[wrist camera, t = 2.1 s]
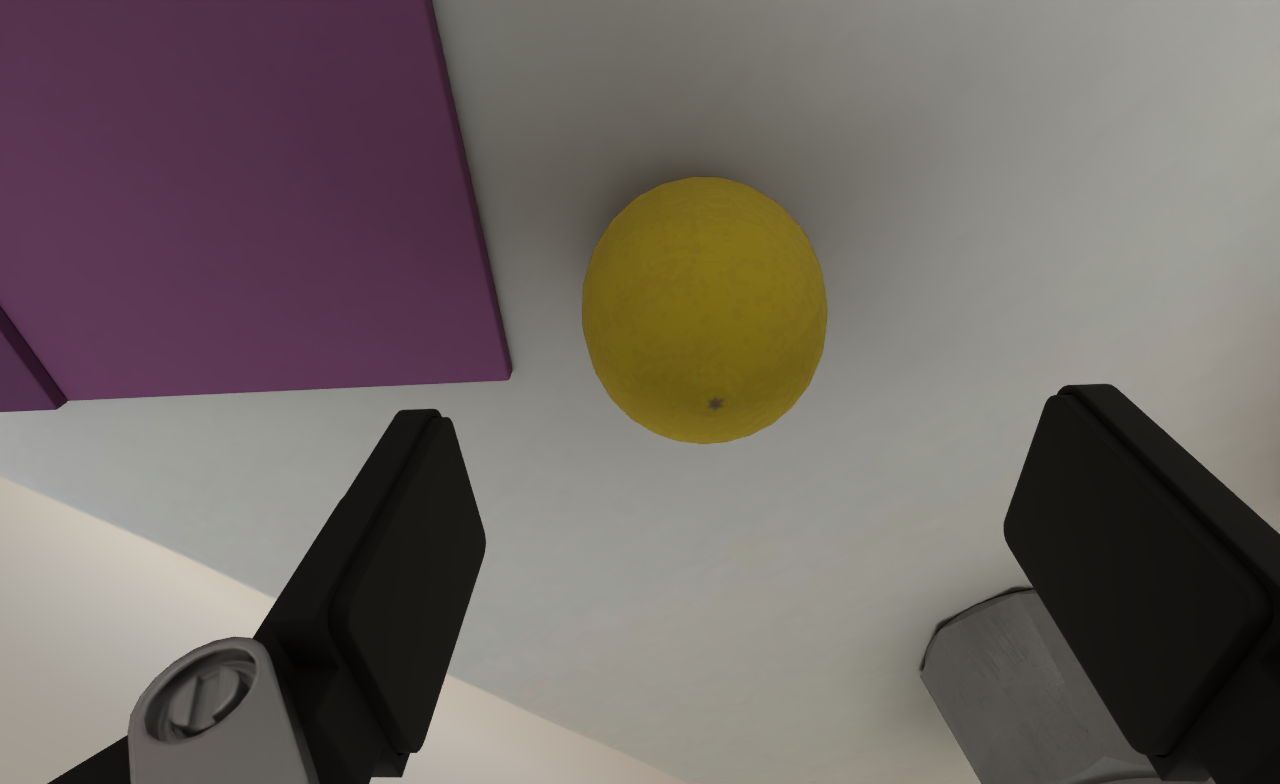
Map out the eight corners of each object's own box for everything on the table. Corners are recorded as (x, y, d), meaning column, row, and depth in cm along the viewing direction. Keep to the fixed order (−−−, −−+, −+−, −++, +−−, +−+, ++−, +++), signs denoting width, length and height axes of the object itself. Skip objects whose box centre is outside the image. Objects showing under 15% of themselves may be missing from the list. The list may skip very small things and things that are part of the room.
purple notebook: (-410, -130, 14) (-487, -137, 13) (385, -214, 13) (364, -229, 12) (1, 395, 21) (-28, 414, 20) (513, 371, 20) (506, 389, 19)
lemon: (675, 359, 20) (684, 551, 13) (557, 228, 18) (496, 382, 11) (827, 257, 18) (927, 424, 11) (716, 94, 16) (759, 184, 9)
